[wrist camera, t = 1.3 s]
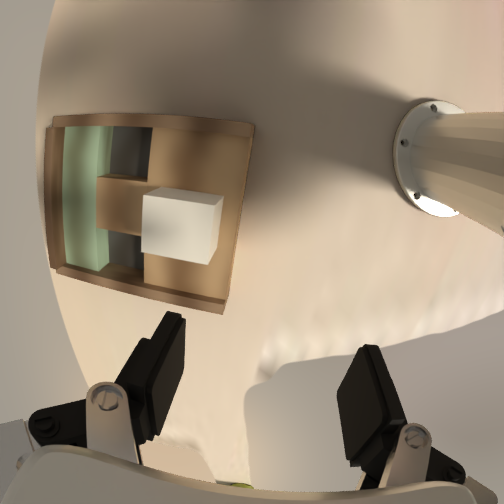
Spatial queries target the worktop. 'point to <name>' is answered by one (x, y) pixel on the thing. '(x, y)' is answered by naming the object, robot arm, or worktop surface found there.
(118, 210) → the box
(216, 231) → the cream block
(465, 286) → the worktop surface
